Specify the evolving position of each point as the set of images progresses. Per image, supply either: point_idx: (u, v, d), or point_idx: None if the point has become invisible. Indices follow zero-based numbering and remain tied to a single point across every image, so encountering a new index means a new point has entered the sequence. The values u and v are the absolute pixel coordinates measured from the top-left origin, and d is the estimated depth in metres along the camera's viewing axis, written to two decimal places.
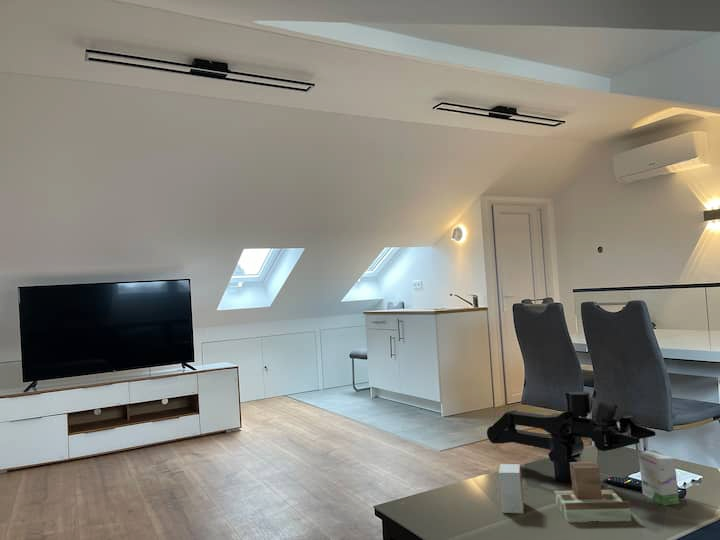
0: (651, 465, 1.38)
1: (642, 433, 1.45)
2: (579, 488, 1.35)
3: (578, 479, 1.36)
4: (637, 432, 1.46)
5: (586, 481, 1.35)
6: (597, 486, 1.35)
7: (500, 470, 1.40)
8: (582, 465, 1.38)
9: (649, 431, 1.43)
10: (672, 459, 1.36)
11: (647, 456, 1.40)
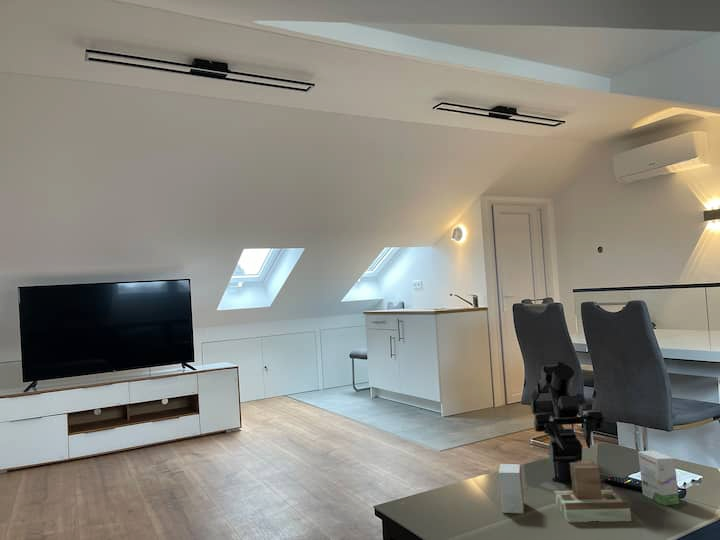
0: (651, 465, 1.38)
1: (585, 437, 1.47)
2: (579, 488, 1.35)
3: (578, 479, 1.36)
4: (585, 432, 1.48)
5: (586, 481, 1.35)
6: (597, 486, 1.35)
7: (500, 470, 1.40)
8: (582, 465, 1.38)
9: (587, 442, 1.45)
10: (672, 459, 1.36)
11: (647, 456, 1.40)
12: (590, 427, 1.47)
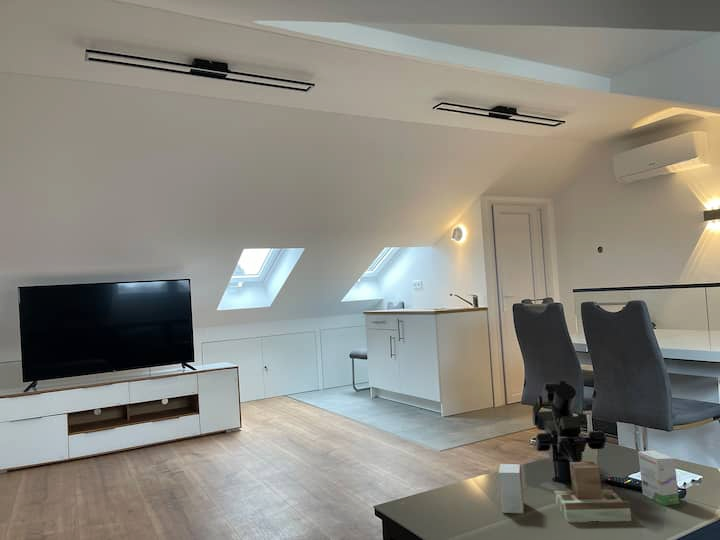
0: (651, 465, 1.38)
1: (575, 458, 1.47)
2: (579, 488, 1.35)
3: (578, 479, 1.36)
4: (575, 453, 1.48)
5: (586, 481, 1.35)
6: (597, 486, 1.35)
7: (500, 470, 1.40)
8: (582, 465, 1.38)
9: None
10: (672, 459, 1.36)
11: (647, 456, 1.40)
12: (580, 448, 1.47)
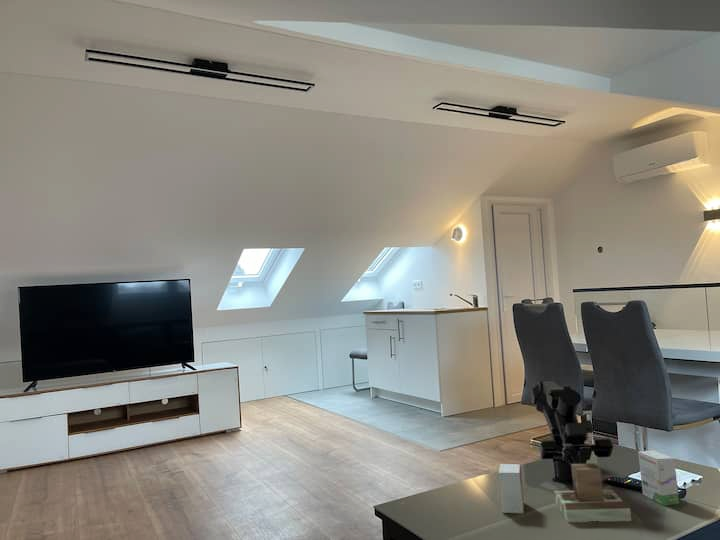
0: (651, 465, 1.38)
1: None
2: (581, 490, 1.34)
3: (579, 481, 1.34)
4: (580, 461, 1.43)
5: (588, 483, 1.34)
6: (599, 488, 1.33)
7: (500, 470, 1.40)
8: (584, 467, 1.36)
9: None
10: (672, 459, 1.36)
11: (647, 456, 1.40)
12: (586, 456, 1.42)
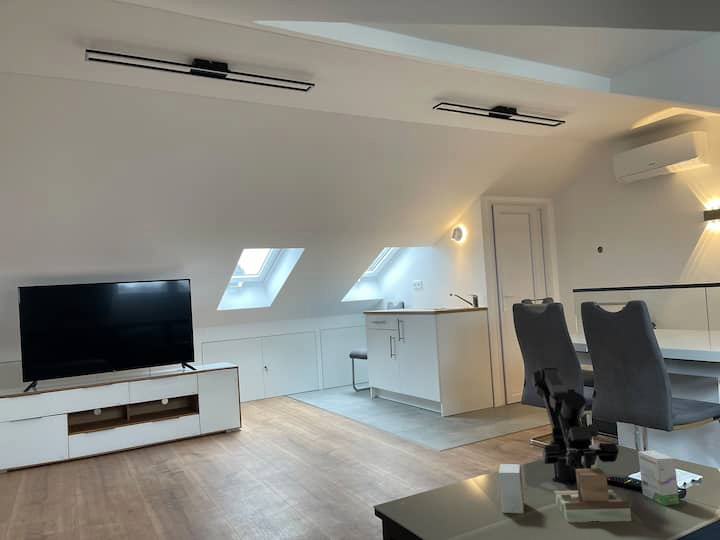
0: (651, 465, 1.38)
1: None
2: (586, 496, 1.30)
3: (584, 487, 1.30)
4: (585, 466, 1.39)
5: (593, 489, 1.30)
6: (604, 494, 1.29)
7: (500, 470, 1.40)
8: (589, 472, 1.32)
9: None
10: (672, 459, 1.36)
11: (647, 456, 1.40)
12: (590, 461, 1.37)
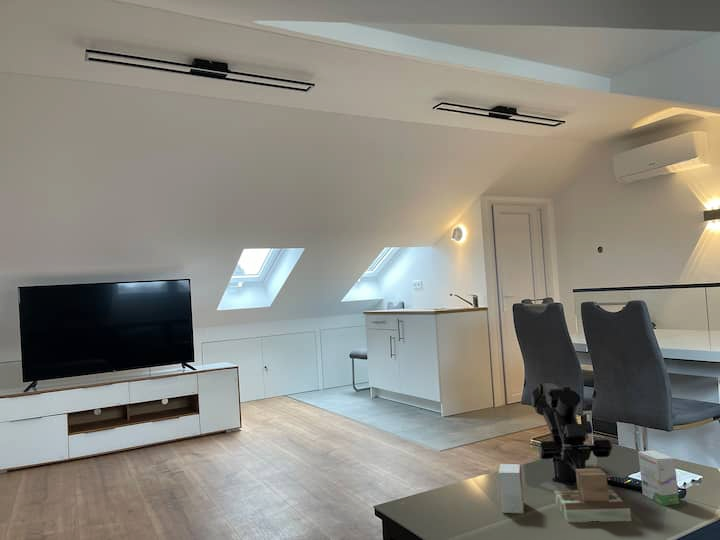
0: (651, 465, 1.38)
1: (580, 466, 1.43)
2: (586, 496, 1.30)
3: (584, 487, 1.30)
4: (579, 461, 1.44)
5: (593, 489, 1.30)
6: (604, 494, 1.29)
7: (500, 470, 1.40)
8: (589, 472, 1.32)
9: None
10: (672, 459, 1.36)
11: (647, 456, 1.40)
12: (585, 457, 1.43)
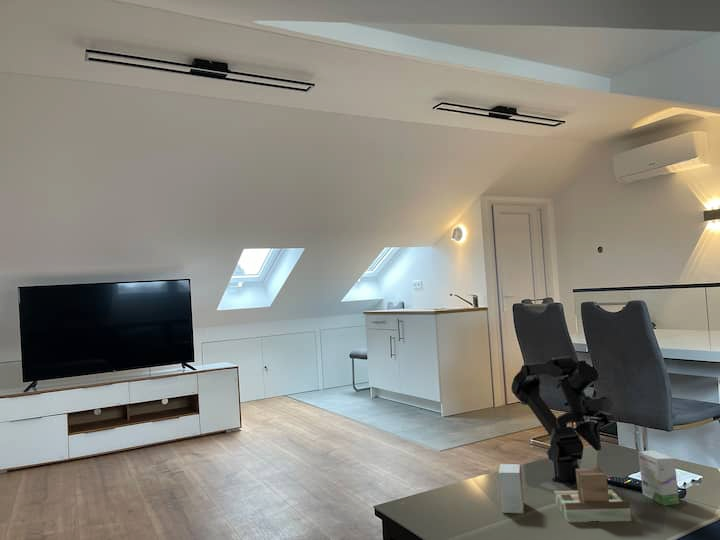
0: (651, 465, 1.38)
1: None
2: (586, 496, 1.30)
3: (584, 487, 1.30)
4: None
5: (593, 489, 1.30)
6: (604, 494, 1.29)
7: (500, 470, 1.40)
8: (589, 472, 1.32)
9: None
10: (672, 459, 1.36)
11: (647, 456, 1.40)
12: (598, 429, 1.46)
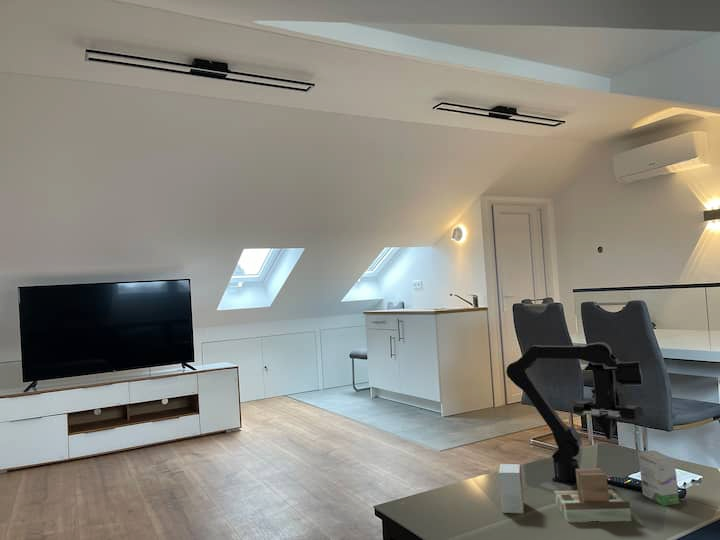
0: (651, 465, 1.38)
1: None
2: (586, 496, 1.30)
3: (584, 487, 1.30)
4: None
5: (593, 489, 1.30)
6: (604, 494, 1.29)
7: (500, 470, 1.40)
8: (589, 472, 1.32)
9: None
10: (672, 459, 1.36)
11: (647, 456, 1.40)
12: None
